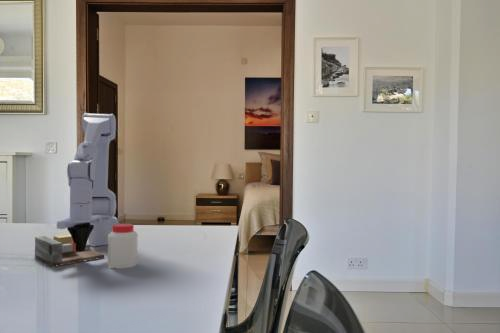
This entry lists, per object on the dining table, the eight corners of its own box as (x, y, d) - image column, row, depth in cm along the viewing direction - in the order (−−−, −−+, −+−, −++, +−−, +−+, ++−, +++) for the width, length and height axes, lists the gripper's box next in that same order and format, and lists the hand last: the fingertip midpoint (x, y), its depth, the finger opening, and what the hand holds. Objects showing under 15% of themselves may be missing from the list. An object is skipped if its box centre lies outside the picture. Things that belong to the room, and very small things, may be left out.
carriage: (70, 248, 119) (70, 233, 119) (76, 250, 117) (76, 235, 117) (53, 250, 116) (53, 235, 116) (58, 252, 113) (58, 238, 113)
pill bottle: (142, 263, 110) (143, 224, 110) (125, 270, 103) (126, 228, 103) (119, 260, 113) (120, 222, 113) (101, 267, 106) (101, 226, 105)
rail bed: (84, 250, 124) (85, 231, 124) (104, 257, 115) (104, 237, 115) (34, 257, 113) (35, 237, 113) (52, 266, 105) (52, 244, 105)
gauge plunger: (71, 250, 111) (72, 241, 111) (75, 251, 109) (75, 243, 109) (54, 252, 108) (55, 244, 108) (58, 254, 106) (58, 245, 106)
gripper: (89, 199, 119) (88, 244, 120) (48, 204, 106) (48, 254, 106) (107, 201, 117) (106, 246, 117) (68, 205, 103) (67, 257, 104)
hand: (80, 250), depth 111 cm, fingers closed
